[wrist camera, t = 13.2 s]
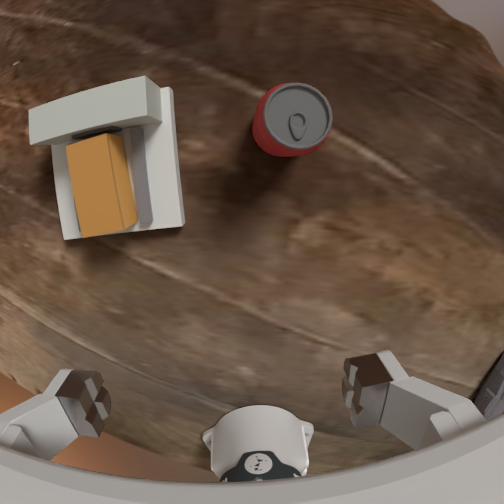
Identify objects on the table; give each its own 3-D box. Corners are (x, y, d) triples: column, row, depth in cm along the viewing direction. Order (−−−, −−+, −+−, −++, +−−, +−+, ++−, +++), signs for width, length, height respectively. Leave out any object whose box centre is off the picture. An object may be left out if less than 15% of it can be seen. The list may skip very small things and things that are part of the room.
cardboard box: (138, 220, 35) (123, 230, 30) (101, 227, 35) (82, 238, 30) (123, 135, 32) (106, 133, 27) (86, 146, 32) (65, 146, 27)
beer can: (251, 156, 35) (256, 155, 24) (251, 101, 34) (256, 74, 22) (308, 157, 36) (338, 158, 24) (308, 103, 34) (338, 80, 22)
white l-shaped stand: (185, 222, 37) (171, 239, 30) (71, 236, 37) (39, 253, 30) (172, 90, 33) (155, 73, 25) (57, 117, 33) (22, 112, 25)
